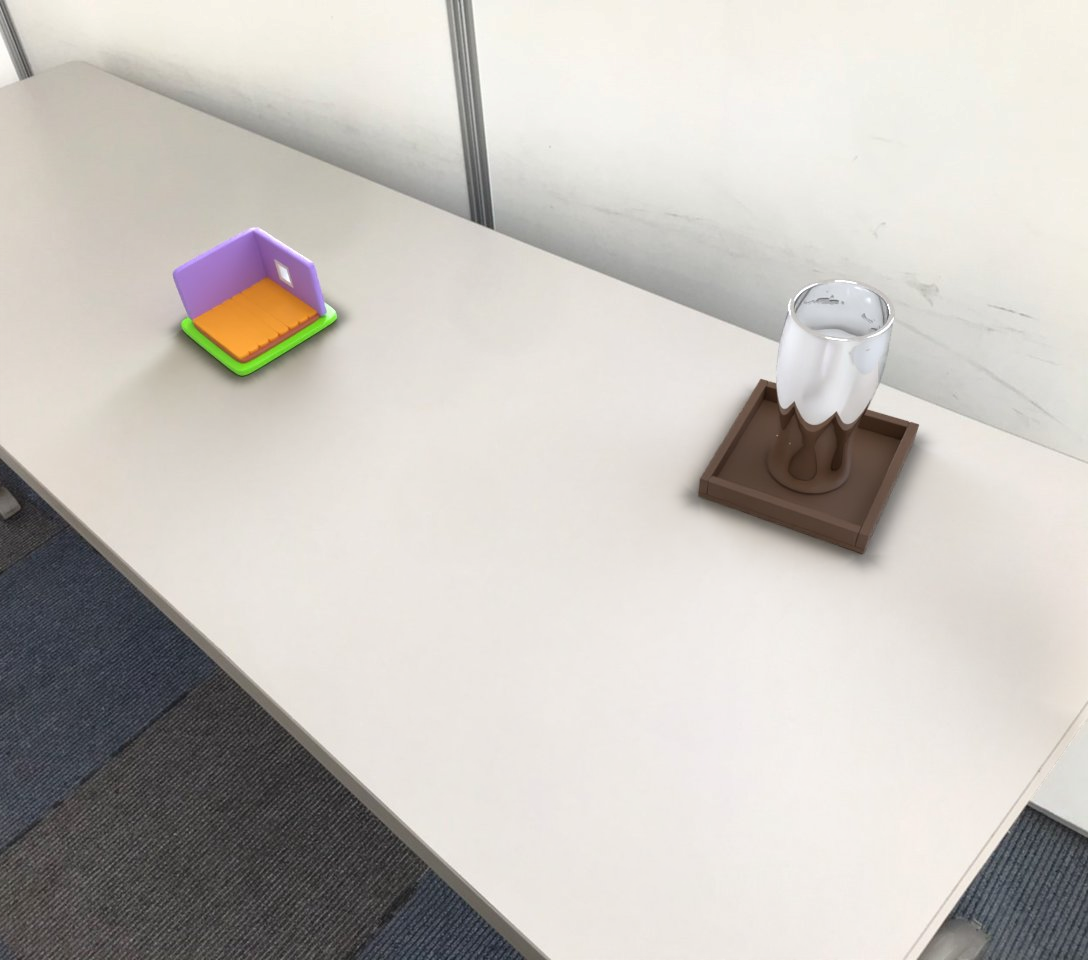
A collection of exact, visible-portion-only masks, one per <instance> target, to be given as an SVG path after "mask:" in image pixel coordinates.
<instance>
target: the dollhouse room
mask: <svg viewBox="0 0 1088 960" xmlns="http://www.w3.org/2000/svg"><path fill="white" fill-rule="evenodd" d="M172 279H173V281H174V284H175V287H176V290H177V293H178V295H179V297H180V300H181V302H182V304H183V308H184V310H185V312H186V315H187V317H186V318H185V319H183V320H182V322H181V323H180V326H181V328H182V330H183V332H184V333H185V334H186V335H187V336H188V337H190V338H191V340H193V341H194V342H196V343H197V344H198V345H199V346H201V348H203V349H204V351H206V352H207V353H209V354H210V355H211V356H212V357H214V358H215V359H216V360H218V362H220V363H221V364H222V365H223V366H225V367H226V368H228V370H230V371H232V372H233V373H235V374H236V375H238V376H241V377H242V376H247V375H250V374H251V373H254V372H255V371H257V370H259V369H260V368H262V367H264V366H265V365H267V364H269V363H270V362H273V361H274V360H276V359H277V358H279V357H280V356H283V354H285V353H286V352H288V351H290V350H292V349H293V348H295V347H296V346H298V345H300V344H301V343H303V342H304V341H307V340H308V339H310V338H311V337H313V336H314V335H316V334H317V333H319V332H321V331H323V330H324V329H325V328H327V327H328V326H330V325H332V324H333V323H334V322H335V321H336V320H338V319H337V318H338V315H337V311H336V310H335V309H334V308H333V307H331V306H330V305H329V304H327V303H326V302H325V299H324V295H323V291H322V287H321V283H320V280H319V275H318V272H317V269H316V265H315V264H314V262H313V261H312V260H310V259H309V258H307V257H306V256H304V255H302V254H301V253H299V252H297V251H296V250H295V249H293V248H291V247H289V246H288V245H287V244H285V243H283V242H282V241H280V240H279V239H278V238H276V237H274V236H273V235H271V234H269V233H268V232H266V231H265V230H263V229H261V228H260V227H250V228H248V229H245V230H243V231H242V232H240V233H238V234H236V235H234V236H232V237H230V238H228V239H227V240H224V241H223V242H221V243H219V244H217V245H216V246H214V247H212V248H210V249H209V250H207V251H205V252H203V253H200V254H199V255H197V256H196V257H194V258H191V259H190V260H188V261H186V262H185V263H183V264H181V265H180V266H178V267H177V268H175V269H174V270H173V272H172Z"/></svg>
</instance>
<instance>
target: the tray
mask: <svg viewBox="0 0 1088 960" xmlns="http://www.w3.org/2000/svg"><path fill="white" fill-rule="evenodd" d="M738 413H739V414H738V415H737V416H736V418H735V420H734V422H733V423H732V425H731V426H730V428H729V430H728V431H727V433H726V434H725V437H724V438H723V439H722V441H721V443H720V445H718V448H717V449H716V451H715V453H714V454H713V456H712V458H711V459H710V461H709V463H707V466H706V468H705V469H704V471H703V472H702V474H701V476H700V477H699V484H698V492H697V496H698V497H701V498H703V499H705V500H709V501H712V502H714V503H718V504H720V505H723V506H726V507H728V508H732V509H734V510H737V511H740V512H743V513H746V514H749V515H750V516H751V515H752V516H755V517H757V518H760V519H763V520H765V521H768V522H770V523H774V524H776V525H780V526H783V527H786V528H788V529H791V530H794V531H796V532H799V533H801V534H806V535H808V536H810V537H814V538H816V539H819V540H822V541H825V542H827V543H831V544H834V545H837V546H839V547H842V548H845V549H847V550H851V551H854V552H856V553H859V554H861V555H864V554H865V552H866V549H867V548H868V546H869V544H870V541H871V538H872V536H873V534H874V532H875V530H876V528H877V525H878V523H879V521H880V519H881V516H882V514H883V512H884V509H885V507H886V505H887V503H888V501H889V498H890V495H891V494H892V492H893V489H894V488H895V486H896V483H897V480H898V479H899V477H900V474H901V472H902V469H903V467H904V465H905V463H906V461H907V459H908V456H909V454H910V452H911V449H912V447H913V445H914V443H915V440H916V437H917V435H918V430H919V427H920V424H919V423H916V422H913V421H910V420H907V419H906V420H905V419H902V418H900V417H899V418H898V417H895V416H891V415H888V414H885V413H882V412H878V411H875V410H871V409H869V408H868V409H867V411H866V413H865V414H864V416H863V418H862V420H861V422H860V424H859V425H858V427H857V429H856V431H855V434H854V437H853V440H852V445H851V471H850V474H849V477H848V478H847V480H846V481H845V482H844V483H843V484H842V485H841V486H840V487H838V488H836V489H834V490H832V491H829V492H825V493H818V494H809V493H802V492H798V491H794V490H792V489H789V488H787V487H785V486H783V485H782V484H780V483H779V482H778V481H777V480H776V479H775V478H774V477H773V476H772V475H771V473H770V471H769V469H768V466H767V455H768V452H769V449H770V447H771V445H772V442H773V440H774V438H775V436H776V433H777V429H778V421H779V419H778V403H777V389H776V382H773V381H769V380H767V379H763V378H760V379H759V380H758V382H757V384H756V385H755V387H754V388H753V390H752V392H751V394H750V395H749V397H748V398H747V401H746V402H745V404H744V405H743V407H742V409H741V410H740V412H738Z"/></svg>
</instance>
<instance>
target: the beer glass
mask: <svg viewBox="0 0 1088 960" xmlns="http://www.w3.org/2000/svg"><path fill="white" fill-rule="evenodd" d="M895 317H896V310H895V306H894V303H893V302H892V300H891V299H890V298H889V296H887V294H885V293H884V292H883V291H881V289H879V288H877V287H875V286H874V285H871V284H868V283H867V282H866V283H865V282H862V281H859V280H854V279H847V278H825V279H820V280H815V281H813V282H810V283H807V284H805V285H803V286H801V287H800V288H798V289H797V290H796V291H795V292H794V293H793V294H792V296H791V297H790V299H789V301H788V307H787V312H786V316H785V319H784V323H783V327H782V331H781V334H780V339H779V343H778V349H777V356H776V363H775V383H776V389H777V403H778V419H779V421H778V429H777V433H776V436H775V438H774V440H773V442H772V445H771V447H770V449H769V452H768V455H767V466H768V469H769V471H770V473H771V475H772V476H773V477H774V478H775V479H776V480H777V481H778V482H779V483H780V484H782V485H783V486H785V487H787V488H789V489H792V490H794V491H798V492H802V493H809V494H818V493H825V492H829V491H832V490H834V489H836V488H838V487H840V486H841V485H842V484H843V483H844V482H845V481H846V480H847V478H848V477H849V474H850V471H851V445H852V440H853V437H854V434H855V431H856V429H857V427H858V425H859V424H860V422H861V420H862V418H863V416H864V414H865V413H866V411H867V409H868V410H869V407H870V405H871V404H872V401H873V399H874V398H875V395H876V392H877V390H878V388H879V386H880V384H881V380H882V378H883V374H884V372H885V368H886V364H887V360H888V355H889V351H890V345H891V339H892V333H893V324H894V320H895Z"/></svg>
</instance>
